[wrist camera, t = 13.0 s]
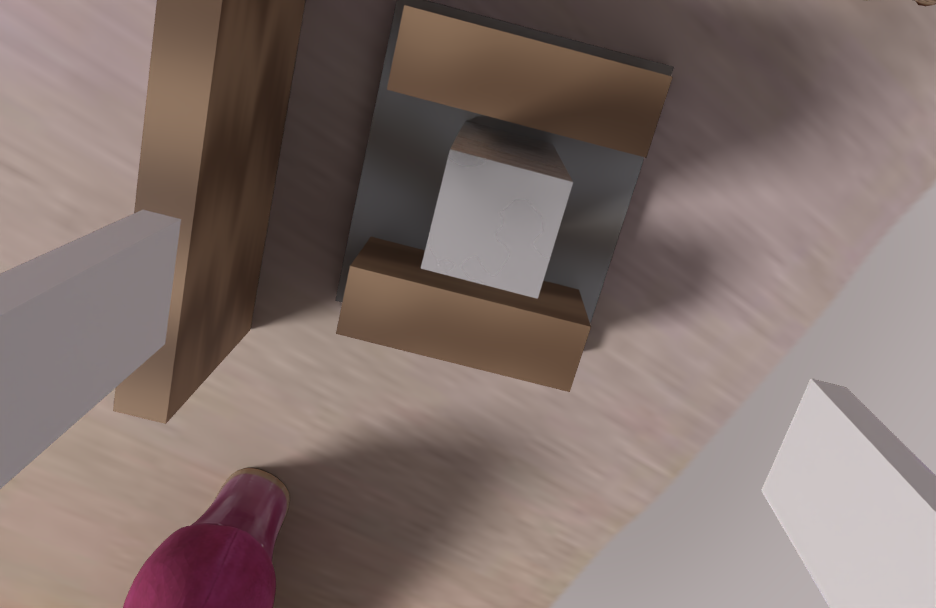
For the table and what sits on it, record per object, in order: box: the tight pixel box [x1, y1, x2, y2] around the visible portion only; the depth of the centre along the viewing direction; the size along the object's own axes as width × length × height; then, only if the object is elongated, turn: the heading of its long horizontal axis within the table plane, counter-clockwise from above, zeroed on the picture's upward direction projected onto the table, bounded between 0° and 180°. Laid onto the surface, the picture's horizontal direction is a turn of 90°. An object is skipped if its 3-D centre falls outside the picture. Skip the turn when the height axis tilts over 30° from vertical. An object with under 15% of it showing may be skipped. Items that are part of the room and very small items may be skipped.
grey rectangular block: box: [421, 121, 573, 299], centre depth 29 cm, size 4×4×10 cm
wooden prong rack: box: [113, 0, 674, 424], centre depth 30 cm, size 20×18×10 cm
